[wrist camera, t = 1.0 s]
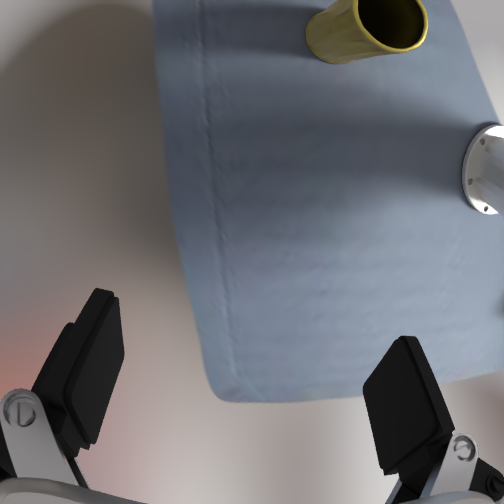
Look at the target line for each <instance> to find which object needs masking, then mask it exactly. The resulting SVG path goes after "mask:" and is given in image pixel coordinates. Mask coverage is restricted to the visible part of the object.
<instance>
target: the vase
mask: <svg viewBox="0 0 504 504" xmlns="http://www.w3.org/2000/svg"><path fill="white" fill-rule="evenodd" d="M427 30H428V17H427V12H426V10H425V7H424V6H423V4H422V2H421V1H420V0H338V1H336V2H335V3H333V4H332V5H330V6H329V7H328V8H327V9H326V10H324V11H321V12H319V13H317V14H315V15H314V16H313V17H312V18H311V19H310V21H309V22H308V25H307V27H306V40H307V44H308V46H309V48H310V49H311V51H312V52H313V53H314V54H315V55H316V56H317V57H319V58H320V59H322V60H323V61H326V62H328V63H332V64H345V63H349V62H351V61H353V60H359V59H363V58H369V57H374V56H380V55H388V54H400V53H405V52H408V51H411V50H414V49H416V48H417V47H419V46H420V45H421V44H422V42H423V41H424V39H425V37H426V34H427Z"/></svg>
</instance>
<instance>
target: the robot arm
mask: <svg viewBox="0 0 504 504" xmlns="http://www.w3.org/2000/svg"><path fill="white" fill-rule="evenodd" d="M462 184H463V189H464V193H465V195H466V198H467V200H468V201H469V203H470V204H471V205H472V206H473V207H474V208H475V209H477V210H478V211H479V212H481V213H483V214H489V215H492V214H497V213H499V214H501V215H502V216H503V217H504V126H503V125H498V124H494V125H490V126H487V127H485V128H483V129H482V130H481V131H480V132H478V133H477V134H476V136H475V137H474V138H473V140H472V141H471V143H470V145H469V147H468V149H467V151H466V154H465V157H464V162H463V167H462ZM123 360H124V345H123V337H122V327H121V317H120V307H119V298H118V297H114V293H113V292H112V291H108V290H104V289H99V288H96V289H94V291H93V293H92V294H91V296H90V297H89V299H88V301H87V302H86V304H85V306H84V307H83V309H82V311H81V313H80V314H79V316H78V318H77V320H76V322H75V323H70V322H69V323H68V324H66V326H65V327H64V329H63V330H62V332H61V334H60V336H59V337H58V339H57V341H56V343H55V344H54V347H53V348H52V350H51V352H50V354H49V356H48V358H47V359H46V361H45V363H44V365H43V367H42V369H41V371H40V373H39V375H38V377H37V379H36V381H35V383H34V385H33V387H32V389H31V391H30V390H27V389H22V388H20V389H14V390H12V391H10V392H8V393H7V394H6V395H5V396H4V397H3V398H2V400H1V402H0V504H146V503H141V502H137V501H133V500H128V499H124V498H120V497H117V496H113V495H109V494H106V493H102V492H98V491H94V490H92V489H91V487H90V485H89V484H88V481H87V480H86V478H85V476H84V474H83V472H82V470H81V468H80V466H79V464H78V461H77V459H76V457H77V456H78V453H79V449H80V447H81V448H84V449H87V450H89V447H90V444H95V443H96V441H97V438H98V435H99V432H100V428H101V425H102V422H103V419H104V416H105V413H106V410H107V407H108V404H109V400H110V398H111V395H112V392H113V389H114V386H115V383H116V380H117V377H118V374H119V371H120V369H121V366H122V363H123ZM363 395H364V399H365V403H366V407H367V411H368V416H369V420H370V424H371V429H372V433H373V437H374V442H375V447H376V451H377V456H378V461H379V465H380V468H381V469H383V471H384V475H392V474H396V473H398V474H399V479H398V481H397V483H396V485H395V487H394V489H393V490H392V492H391V494H390V496H389V498H388V499H387V501H386V503H385V504H504V477H503V475H502V474H501V473H500V472H499V471H498V470H496V469H495V468H493V467H492V466H490V465H489V464H487V463H486V462H484V461H483V460H481V459H480V458H478V452H479V451H478V445H477V443H476V441H475V440H474V438H473V437H472V436H471V435H469V434H468V433H465V432H458V433H455V434H454V435H453V434H452V432H453V431H454V430H455V427H454V425H453V422H452V419H451V417H450V414H449V411H448V409H447V406H446V404H445V401H444V399H443V396H442V393H441V391H440V389H439V386H438V384H437V381H436V379H435V376H434V374H433V372H432V369H431V367H430V365H429V363H428V360H427V358H426V356H425V354H424V351H423V349H422V347H421V345H420V343H419V341H418V339H417V338H416V337H415V336H400V337H399V338H398V339H396V340H395V341H394V342H393V344H392V345H391V347H390V348H389V350H388V351H387V353H386V354H385V355H384V357H383V358H382V360H381V361H380V363H379V364H378V365H377V367H376V368H375V370H374V371H373V372H372V374H371V375H370V376H369V378H368V379H367V380H366V382H365V383H364V385H363Z"/></svg>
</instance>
